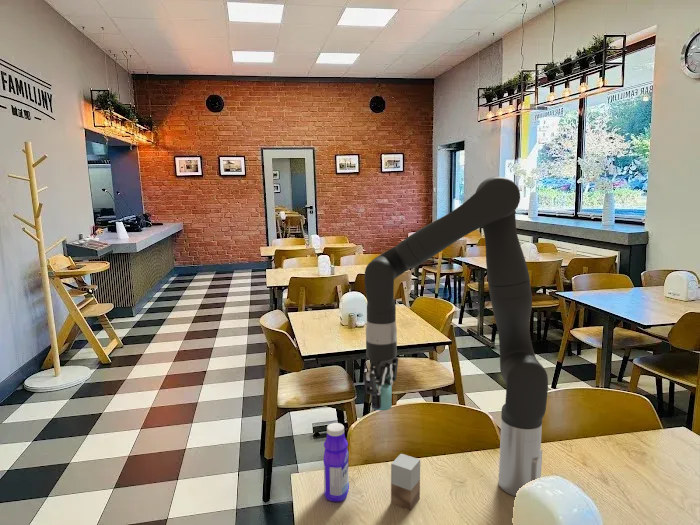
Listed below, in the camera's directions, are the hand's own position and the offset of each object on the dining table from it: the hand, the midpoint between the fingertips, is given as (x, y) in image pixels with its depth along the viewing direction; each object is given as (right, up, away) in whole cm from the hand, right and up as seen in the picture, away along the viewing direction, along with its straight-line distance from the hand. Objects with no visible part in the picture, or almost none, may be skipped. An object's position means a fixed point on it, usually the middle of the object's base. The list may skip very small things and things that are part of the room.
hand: (381, 403), depth 120 cm
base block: (+5, -21, -8) cm, 23 cm away
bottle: (-11, -21, -5) cm, 24 cm away
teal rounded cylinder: (0, -1, 0) cm, 1 cm away
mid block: (+5, -16, -9) cm, 19 cm away
